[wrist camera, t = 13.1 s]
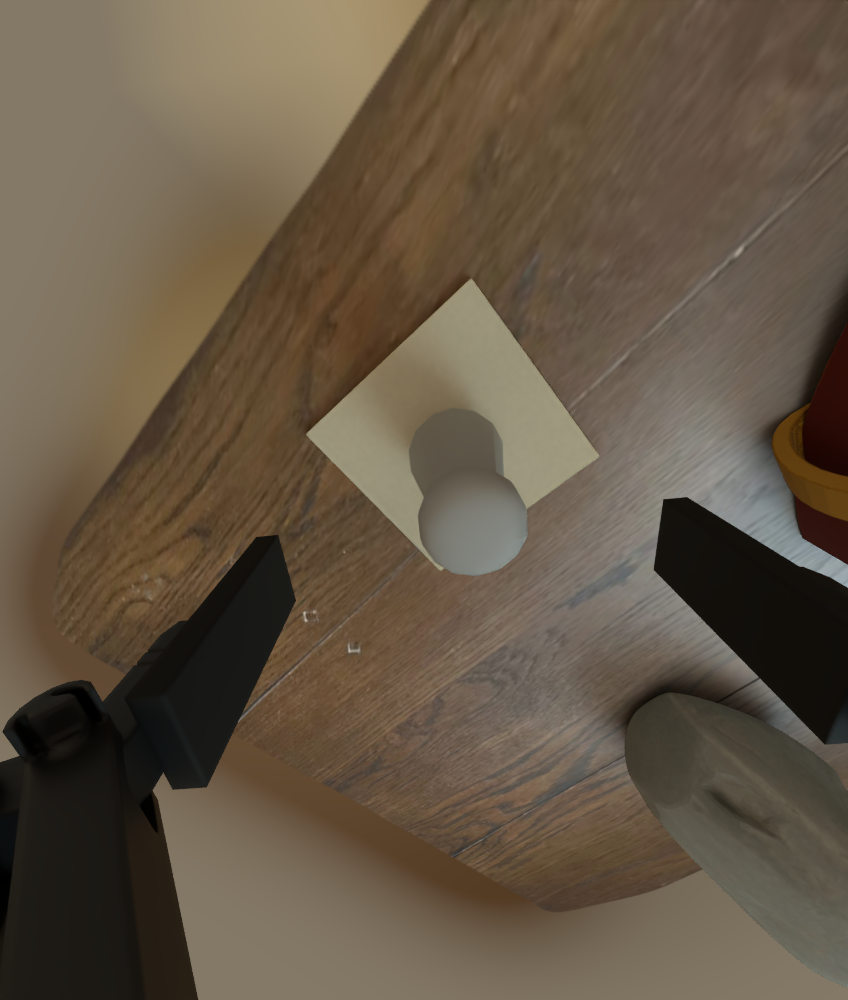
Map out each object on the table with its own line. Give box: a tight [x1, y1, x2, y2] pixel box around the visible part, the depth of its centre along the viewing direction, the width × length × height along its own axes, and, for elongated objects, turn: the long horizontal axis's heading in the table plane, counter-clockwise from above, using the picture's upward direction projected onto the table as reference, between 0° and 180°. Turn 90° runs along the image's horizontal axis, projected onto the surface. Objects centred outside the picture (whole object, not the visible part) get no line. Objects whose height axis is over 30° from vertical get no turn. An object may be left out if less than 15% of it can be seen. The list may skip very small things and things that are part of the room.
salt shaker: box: [409, 408, 527, 576], centre depth 21 cm, size 6×6×13 cm
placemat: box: [306, 278, 599, 571], centre depth 27 cm, size 14×14×1 cm
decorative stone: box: [625, 693, 848, 988], centre depth 31 cm, size 12×17×15 cm
